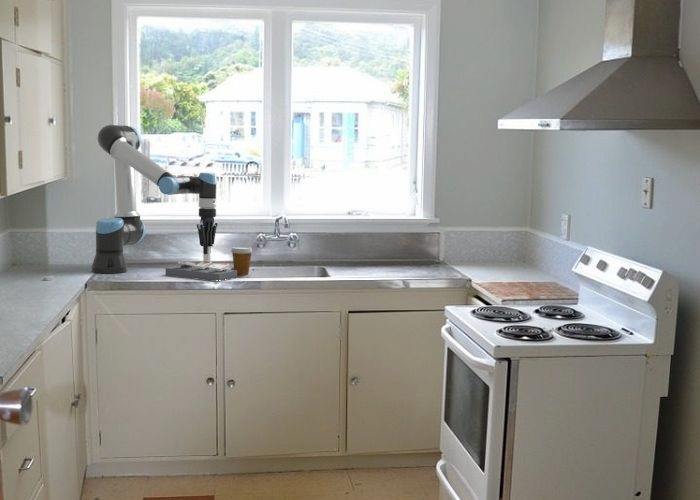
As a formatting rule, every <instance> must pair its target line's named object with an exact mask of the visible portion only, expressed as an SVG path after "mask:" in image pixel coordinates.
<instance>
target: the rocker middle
mask: <svg viewBox="0 0 700 500" xmlns="http://www.w3.org/2000/svg"><path fill="white" fill-rule="evenodd" d="M212 265H213V261H209V262H207V261H203V260H202V261H201V262H200V263H197V264H195V269H205V268H207V267H210V266H212Z"/></svg>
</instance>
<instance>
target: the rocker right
mask: <svg viewBox="0 0 700 500" xmlns="http://www.w3.org/2000/svg"><path fill="white" fill-rule="evenodd" d="M229 267H230V263H227V262H220V263H218V264H216V265H214V266H213V267H211V268H212V271H222V270H224V269H228V268H229Z"/></svg>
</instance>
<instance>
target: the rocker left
mask: <svg viewBox="0 0 700 500" xmlns="http://www.w3.org/2000/svg"><path fill="white" fill-rule="evenodd" d="M177 264H179V265H191V266H195V265H196V263H195V262H191V261H182V260H178V261H177Z"/></svg>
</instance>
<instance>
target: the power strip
mask: <svg viewBox="0 0 700 500" xmlns="http://www.w3.org/2000/svg"><path fill="white" fill-rule="evenodd" d="M164 272H165V273H164V274H165V276H170V277H176V276H179V277H178V278H185V277H189V278H188V279H193V278H198V279H197V280H202V279H205V280H204V281H210V280H218V281H217V282H220V281H219V280H224V281H226V280H225V279H228V280H232V279H231V278H233V279H236V278H238V275H237V270H234V269H230V268H229V269H228V268H226V269H224V270H222V271H212V267H210V266H209V267H207V268H205V269H195V266H191V265H184V264H179V265H175V266H169V267H165V271H164Z"/></svg>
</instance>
